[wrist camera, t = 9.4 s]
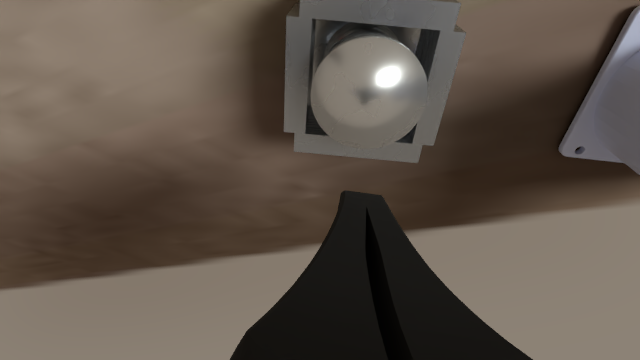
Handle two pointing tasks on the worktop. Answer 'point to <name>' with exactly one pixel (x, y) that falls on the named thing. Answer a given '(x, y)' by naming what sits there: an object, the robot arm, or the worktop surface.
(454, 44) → the elbow
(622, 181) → the worktop surface
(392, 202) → the worktop surface
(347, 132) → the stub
